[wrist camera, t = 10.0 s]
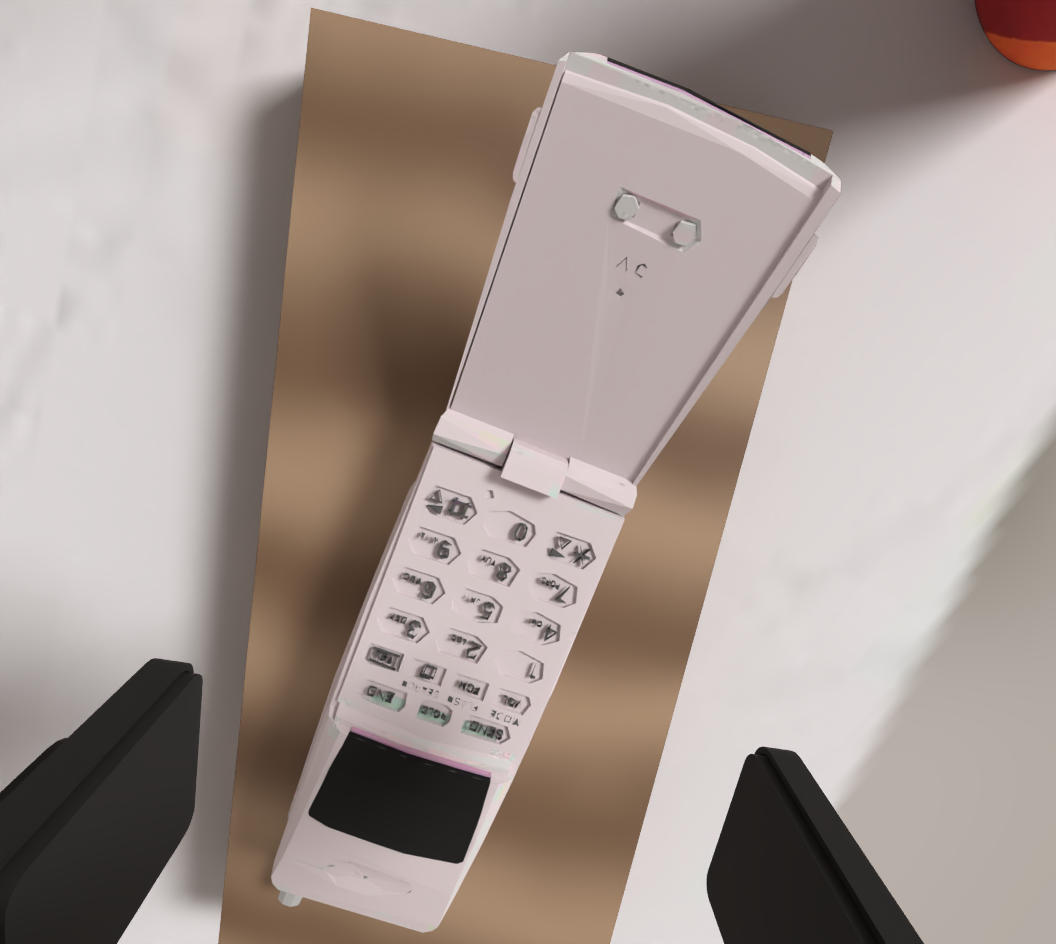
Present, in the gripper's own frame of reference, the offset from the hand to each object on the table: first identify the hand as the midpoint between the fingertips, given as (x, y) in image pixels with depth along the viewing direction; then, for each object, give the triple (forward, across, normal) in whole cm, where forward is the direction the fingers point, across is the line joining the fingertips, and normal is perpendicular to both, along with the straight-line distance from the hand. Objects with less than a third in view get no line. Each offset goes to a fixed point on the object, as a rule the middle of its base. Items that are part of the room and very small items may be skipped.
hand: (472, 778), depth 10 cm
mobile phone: (+9, 0, 0) cm, 9 cm away
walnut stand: (+12, 0, +1) cm, 12 cm away
